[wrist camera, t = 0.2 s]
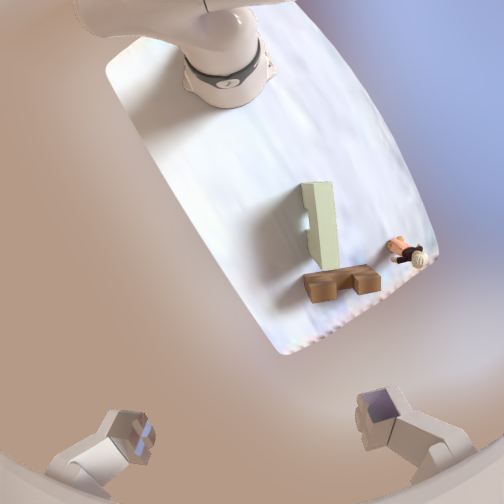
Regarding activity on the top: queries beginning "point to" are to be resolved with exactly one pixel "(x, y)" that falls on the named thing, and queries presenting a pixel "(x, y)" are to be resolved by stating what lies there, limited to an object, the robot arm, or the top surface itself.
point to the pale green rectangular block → (321, 224)
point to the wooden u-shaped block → (341, 282)
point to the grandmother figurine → (407, 252)
